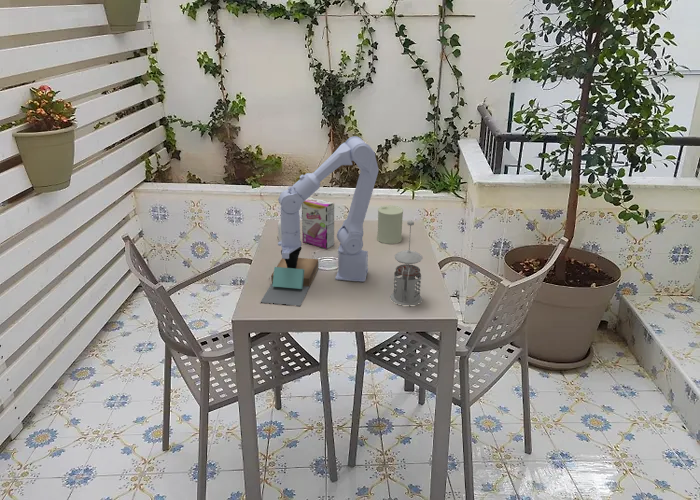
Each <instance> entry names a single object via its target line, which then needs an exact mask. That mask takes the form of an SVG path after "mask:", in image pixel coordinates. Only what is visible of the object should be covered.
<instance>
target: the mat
mask: <svg viewBox="0 0 700 500" xmlns="http://www.w3.org/2000/svg"><path fill="white" fill-rule="evenodd" d="M272 285H273V283H272V282H271V284H270V285H269V287H268V288H267V290H266V292H265V294H264V295H263V297H262V298H261V300H260V302H262V303H261V304H267V303H274V304H273V305H278V304H286V305H285V306H290V305H296V306H295V307H301V305H302V303H303V302H304V299H305V298H306V295H307V293H308V291H309V289H310V287H309V286H303V289H294V288H283V287H273V286H272Z"/></svg>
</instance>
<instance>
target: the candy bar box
mask: <svg viewBox="0 0 700 500" xmlns="http://www.w3.org/2000/svg"><path fill="white" fill-rule="evenodd" d="M301 222H302V223H301V227H302V228H301V229H302V230H301V231H302V234H301V235H302V243H305V244H309V245H312V246H314V247H315V246H316V247H319V248H322V249H330V248H331V247H333V246H334V245H335V203H334V202H332V201H327V200H322V199H320V198H315V197H311V196H310V197H309V198H307V199H306V200H305V201H304V202H302V204H301Z"/></svg>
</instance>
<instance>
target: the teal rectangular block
mask: <svg viewBox="0 0 700 500" xmlns="http://www.w3.org/2000/svg"><path fill="white" fill-rule="evenodd" d="M273 272H274V276H273V285H272V286H273V287H283V288H294V289H303V280H304V269H295V268H283V267H277V266H274V267H273Z"/></svg>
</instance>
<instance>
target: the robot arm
mask: <svg viewBox="0 0 700 500" xmlns="http://www.w3.org/2000/svg"><path fill="white" fill-rule="evenodd" d="M353 162H354V163H355V164H356V166H357V168H358V169H359V170H360V171H359V175H358V177H357V181H356V186H355V189H354V192H353V196H352V199H351V202H350V206H349V209H348V214H347V217H346V219H345V220H343V222H342V225H341V227H340V228H339V229H338V231H337V233H336V238H337V241H339V246H338V252H337V254H338V255H337V257H338V261H337V262H338V263H337V264H338V265H337V266H338V267H337V269H338V270H337V273H336V276H335V277H334V278H335V280H336V281H337V280H338V281H351V282H361V283H363V282H366V279H367V276H368V273H369V265H368V263H369V262H368V261H369V251H368V250H365V249H363V247H364V241H363V236H364V227H363V226H364V222H365V218H366V214H367V212H368V207H369V205H370V201H371V198H372V195H373V192H374V191H373V190H374V187H375V184H376V181H377V177H378V174H379V169H380V168H379V166H378V161H377V159H376V151H374V150H373V148H372V147H371V145H369V144H368V143H366V142H365V141H364V140H363V139H362V138H361V137H360V136H357V135H355V136H349V138H347V140H346V141H345V142H342V143H341V144H340V145H339V146H338V147H337V149H336V150H335V151H334V152H333V153H332V154H331V155H330V156H328V158H326V160H324V161H323V162H322V163H321V165H320V166H319V167H318V168H316V169H315V171H314V172H311V173H310V172H306V173H305V174H303V173H302V174H301V175H300V176H299V180H297V181H295V183H294V184H293V185H291V186H290V185H289V186H288V187H287V189H285V190H283V191H281V193H280V194H279V197H278V198H277V201H278V204H279V206H281V207H280V219H281V238H282V241H280V240H278V242H277V246H279V247H281V250H280V253H281V259H282V258H283V259H285V261H286V264H287V268H295V269H296V267H297V261H298V258H299V255H300V253H301V251H302V249H303V248H302V241H301V215H300V210H301V209H302V202H304V201H305V200H306V199H307V198H309V197H311V196H312V195H313V194H315V192H317V191H318V190H319V189H320V188H321V187H320V186H321V182H322V181H323V180H324V179H326V178H327V177H329V175H331V174H332V173H333V172H335V170H337V169H338V168H340V167H342V166H353Z"/></svg>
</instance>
